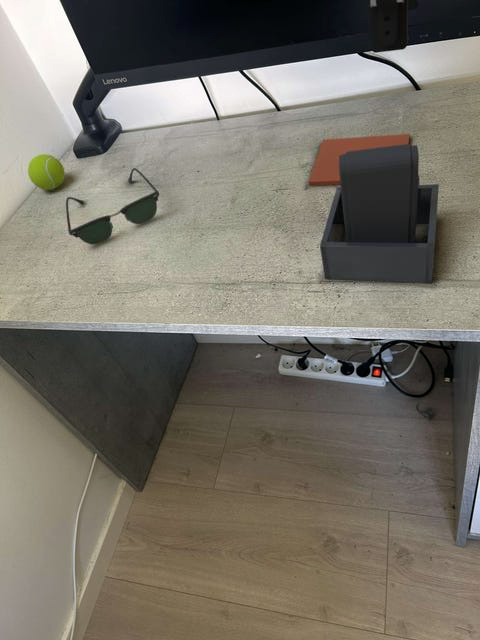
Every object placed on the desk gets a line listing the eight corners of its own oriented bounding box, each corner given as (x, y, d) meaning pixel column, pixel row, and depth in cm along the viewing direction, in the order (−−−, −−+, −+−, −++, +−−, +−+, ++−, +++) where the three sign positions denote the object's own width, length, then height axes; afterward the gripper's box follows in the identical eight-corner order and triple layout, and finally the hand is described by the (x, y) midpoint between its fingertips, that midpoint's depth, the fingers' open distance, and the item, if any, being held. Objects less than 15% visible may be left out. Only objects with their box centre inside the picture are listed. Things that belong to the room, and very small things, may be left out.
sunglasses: (144, 175, 98) (134, 152, 94) (168, 215, 86) (158, 191, 82) (67, 209, 96) (54, 187, 92) (82, 255, 84) (68, 232, 81)
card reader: (415, 237, 68) (418, 137, 57) (417, 256, 65) (421, 156, 55) (348, 242, 70) (339, 148, 60) (347, 261, 68) (338, 166, 57)
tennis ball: (33, 197, 103) (14, 168, 98) (49, 178, 107) (32, 149, 102) (61, 195, 100) (43, 165, 95) (76, 175, 104) (59, 146, 99)
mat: (409, 138, 84) (409, 133, 84) (403, 182, 76) (403, 178, 76) (323, 143, 90) (323, 139, 89) (309, 185, 82) (308, 181, 81)
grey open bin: (436, 220, 69) (438, 184, 65) (431, 283, 62) (434, 247, 57) (340, 220, 74) (336, 187, 70) (324, 279, 67) (319, 246, 62)
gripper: (439, -224, 30) (428, 63, 42) (456, -247, 40) (443, -10, 52) (319, -186, 33) (341, 72, 45) (363, -217, 43) (371, 2, 55)
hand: (396, 28), depth 49 cm, fingers open, 9 cm apart
